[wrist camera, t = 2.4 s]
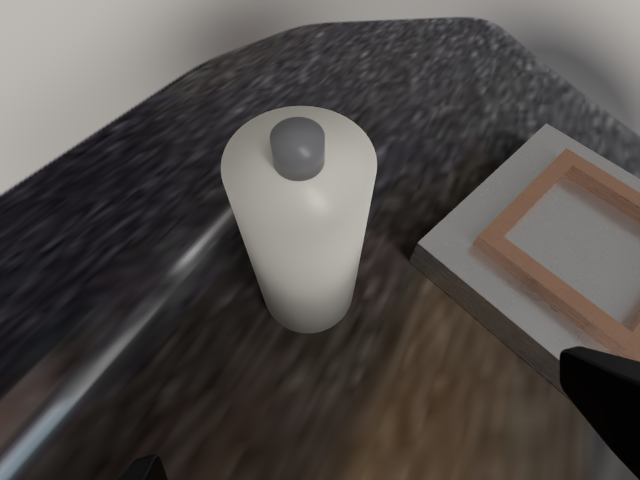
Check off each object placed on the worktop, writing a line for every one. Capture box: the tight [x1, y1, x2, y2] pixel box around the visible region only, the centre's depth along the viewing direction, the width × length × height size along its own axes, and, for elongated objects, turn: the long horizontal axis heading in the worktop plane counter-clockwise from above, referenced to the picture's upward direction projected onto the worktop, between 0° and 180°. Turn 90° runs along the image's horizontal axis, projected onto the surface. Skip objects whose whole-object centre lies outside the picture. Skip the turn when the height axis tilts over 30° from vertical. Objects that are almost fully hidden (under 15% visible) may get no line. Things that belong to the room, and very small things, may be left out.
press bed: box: [409, 124, 640, 398], centre depth 24 cm, size 14×14×4 cm
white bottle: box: [221, 106, 377, 333], centre depth 19 cm, size 6×6×13 cm
